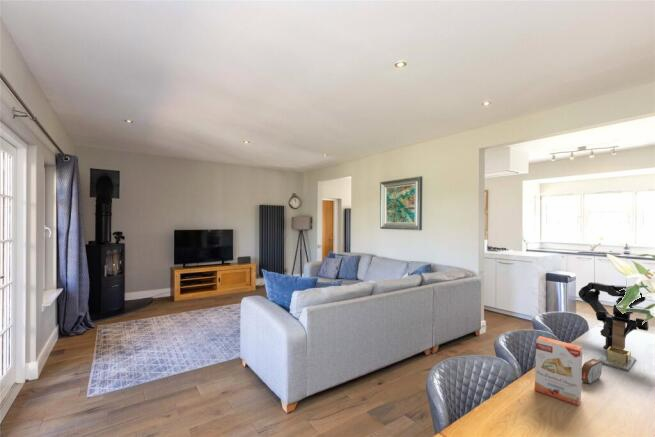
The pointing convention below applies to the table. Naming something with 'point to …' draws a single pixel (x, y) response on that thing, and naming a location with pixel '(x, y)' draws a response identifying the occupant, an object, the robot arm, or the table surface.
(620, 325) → the brown square block
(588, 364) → the tin
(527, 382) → the table surface
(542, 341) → the cracker box
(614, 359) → the base plate
